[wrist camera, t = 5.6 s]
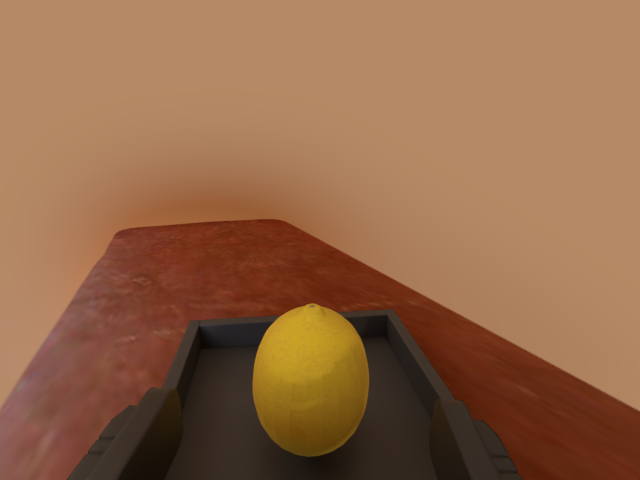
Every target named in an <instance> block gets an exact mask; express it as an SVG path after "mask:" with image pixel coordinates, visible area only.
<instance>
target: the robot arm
mask: <svg viewBox="0 0 640 480" xmlns="http://www.w3.org/2000/svg"><path fill="white" fill-rule="evenodd" d="M182 436H183V419H182V412H181V405H180V398H179V392H178V390H177V389H176V388H150V389H149V390H148V391H147V392H146V394H145V395H144V397H143V398H142V399H141V401H140V402H139V404H138V405H137V406H130V405H129V406H128V407H127V408H126V409H124V410H123V411H122V412H121V413H119V414H118V415H117V416H116V417H114V418H113V419H112V420H111V421H110V423H109V424H108V425H107V427H106V428H105V429H104V431H103V432H102V433H101V435H100V436H99V439H98V440H96V441H95V443H94V444H93V445H92V447H91V448H90V449H89V451H88V454H87V455H85V456H84V457H83V459H82V460H81V461H80V463H79V464H78V465H77V467H76V468H75V469H74V471H73V472H72V473H71V475H70V476H69V477H68V479H67V480H164V479H165V477H166V475H167V473H168V470H169V468H170V466H171V464H172V462H173V460H174V458H175V456H176V454H177V451H178V449H179V447H180V444H181V441H182ZM429 449H430V456H431V460H432V463H433V466H434V470H435V473H436V476H437V479H438V480H523V479H522V477H521V476H520V474H518V472H517V468H516V467H515V465H514V463H513V461H512V459H511V458H509V454H508V452H507V450H506V449H505V447H504V445H503V443H502V441H501V439H500V438H499V436H498V435H497V434H496V433H495V432H494V431H493V430H492V429H491V428H490V427H489V426H488V425H487V424H486V423H485V422H484V421H483V420H473V419H472V417H471V415H470V413H469V411H468V408H467V406H466V405H465V403H464V402H463V401H462V400H443V399H437V400H436V401H435V404H434V410H433V416H432V422H431V428H430V434H429Z"/></svg>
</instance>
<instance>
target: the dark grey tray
mask: <svg viewBox="0 0 640 480" xmlns="http://www.w3.org/2000/svg"><path fill="white" fill-rule="evenodd" d="M337 313H338V314H340V315H341V316H343V317H344V318H345V319H346V320H348V321H349V322H350V323H351V324H352V325H353V327H354V328H355V330H356V332H357V333H358V335H359V336H360V338H361V340H362V343H363V346H364V349H365V354H366V358H367V363H368V369H369V390H368V398H367V404H366V409H365V412H364V415H363V417H362V419H361V421H360V423H359V425H358V427H357V429H356V431H355V432H354V434H353V435H352V436H351V437H350V438H349V439H348V440H347V441H346V442H345V443H344V444H343V445H342V446H340V447H339V448H337V449H335V450H334V451H332V452H330V453H327V454H323V455H320V456H310V457H306V456H301V455H295V454H293V453H291V452H289V451H286V450H284V449H282V448H281V447H280V446H279V445H278V444H276V443H275V442H274V441H273V440H272V439H271V438H270V437H269V435H268V434H267V432H266V431H265V429H264V428H263V426H262V425H261V422H260V420H259V417H258V414H257V410H256V407H255V403H254V399H253V371H254V363H255V358H256V354H257V351H258V348H259V345H260V343H261V341H262V339H263V337H264V334H265V332H266V331H267V330H268V328H269V327H270V326H271V325H272V324H273V323H274V322H275V321H276V320H277V319H278V318H279V317H281V316H282V315H281V316H263V317H245V318H227V319H210V320H194V321H190V322H189V325H188V327H187V329H186V332H185V334H184V337H183V339H182V341H181V344H180V346H179V349H178V351H177V353H176V356H175V358H174V361H173V363H172V365H171V368H170V370H169V373H168V375H167V377H166V380H165V382H164V385H163V387H162V388H176V389H177V390H178V392H179V398H180V405H181V412H182V419H183V436H182V441H181V444H180V447H179V449H178V451H177V454H176V456H175V458H174V460H173V462H172V464H171V466H170V468H169V470H168V473H167V475H166V477H165V479H164V480H438V479H437V476H436V473H435V470H434V466H433V463H432V460H431V456H430V449H429V434H430V428H431V422H432V416H433V410H434V404H435V401H436V400H437V399H443V400H455V398H454V397H453V395H452V394H451V392H450V391H449V389H448V388H447V386H446V385H445V384H444V382H443V381H442V379H441V378H440V376H439V375H438V373H437V372H436V371H435V369H434V368H433V366H432V365H431V363H430V362H429V360H428V359H427V358H426V356H425V355H424V353H423V352H422V350H421V349H420V347H419V346H418V344H417V343H416V342H415V340H414V339H413V337H412V336H411V334H410V333H409V331H408V330H407V329H406V327H405V326H404V324H403V323H402V321H401V320H400V318H399V317H398V315H397V314H396V313H395V311H394V310H393V309H389V310H370V311H352V312H337Z"/></svg>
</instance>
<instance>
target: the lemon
mask: <svg viewBox="0 0 640 480" xmlns="http://www.w3.org/2000/svg"><path fill="white" fill-rule="evenodd" d="M368 390H369V369H368V363H367V358H366V354H365V349H364V346H363V343H362V340H361V338H360V336H359V335H358V333H357V332H356V330H355V328H354V327H353V325H352V324H351V323H350V322H349V321H348V320H346V319H345V318H344V317H343V316H341V315H340V314H338V313H337V312H335V311H333V310H331V309H328V308H325V307H320V306H319V305H317V304H308V305H306V306H303V307H298V308H296V309H293V310H291V311H288V312H287V313H285V314H284V315H282V316H281V317H279V318H278V319H277V320H276V321H275V322H274V323H273V324H272V325H271V326H270V327H269V328H268V330H267V331H266V332H265V334H264V337H263V339H262V341H261V343H260V345H259V348H258V351H257V354H256V358H255V363H254V371H253V399H254V403H255V407H256V410H257V414H258V417H259V420H260V422H261V425H262V426H263V428H264V429H265V431H266V432H267V434H268V435H269V437H270V438H271V439H272V440H273V441H274V442H275V443H276V444H278V445H279V446H280V447H281V448H282V449H284V450H286V451H289V452H291V453H293V454H295V455H301V456H306V457H310V456H320V455H323V454H327V453H330V452H332V451H334V450H335V449H337V448H339V447H340V446H342V445H343V444H344V443H345V442H346V441H347V440H348V439H349V438H350V437H351V436H352V435H353V434H354V432H355V431H356V429H357V427H358V425H359V423H360V421H361V419H362V417H363V415H364V412H365V409H366V404H367V398H368Z"/></svg>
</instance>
